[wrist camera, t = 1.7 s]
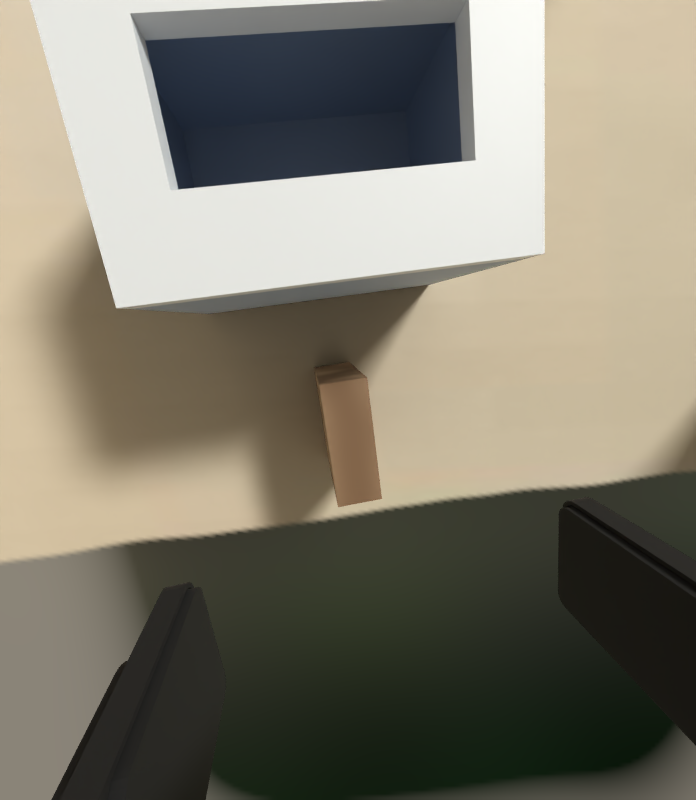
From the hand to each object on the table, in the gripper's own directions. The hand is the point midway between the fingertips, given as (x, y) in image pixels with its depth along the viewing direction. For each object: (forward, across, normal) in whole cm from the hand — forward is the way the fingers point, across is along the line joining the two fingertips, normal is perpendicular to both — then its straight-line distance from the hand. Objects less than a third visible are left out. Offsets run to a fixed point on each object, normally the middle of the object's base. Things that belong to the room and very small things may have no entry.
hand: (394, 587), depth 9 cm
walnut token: (+17, -1, 0) cm, 17 cm away
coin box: (+17, -1, -14) cm, 22 cm away
